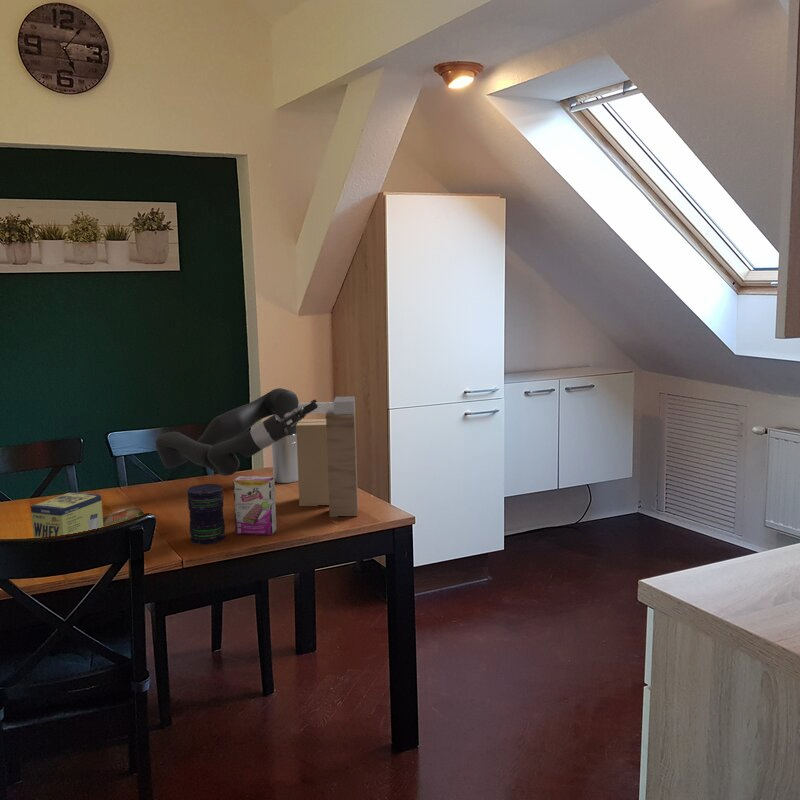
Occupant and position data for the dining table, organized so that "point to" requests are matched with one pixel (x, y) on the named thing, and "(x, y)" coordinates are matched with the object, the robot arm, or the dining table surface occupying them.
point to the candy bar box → (254, 505)
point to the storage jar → (206, 514)
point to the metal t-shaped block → (334, 406)
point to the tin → (122, 516)
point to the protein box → (67, 515)
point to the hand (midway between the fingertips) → (316, 403)
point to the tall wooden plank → (342, 465)
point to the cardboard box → (312, 462)
